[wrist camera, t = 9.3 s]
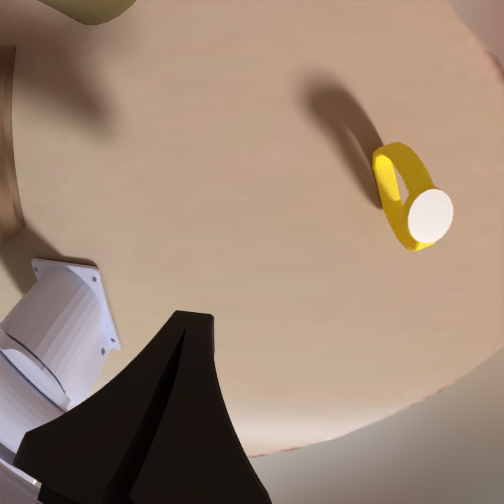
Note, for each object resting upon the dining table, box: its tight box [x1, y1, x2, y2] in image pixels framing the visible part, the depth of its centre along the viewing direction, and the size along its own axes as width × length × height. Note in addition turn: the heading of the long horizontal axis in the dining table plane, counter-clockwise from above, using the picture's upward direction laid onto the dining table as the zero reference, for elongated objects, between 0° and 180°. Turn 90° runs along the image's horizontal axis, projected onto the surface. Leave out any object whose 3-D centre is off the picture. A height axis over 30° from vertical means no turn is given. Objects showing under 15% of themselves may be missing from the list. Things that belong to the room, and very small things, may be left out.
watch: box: [372, 142, 453, 251], centre depth 14 cm, size 6×3×6 cm, turn 23°
